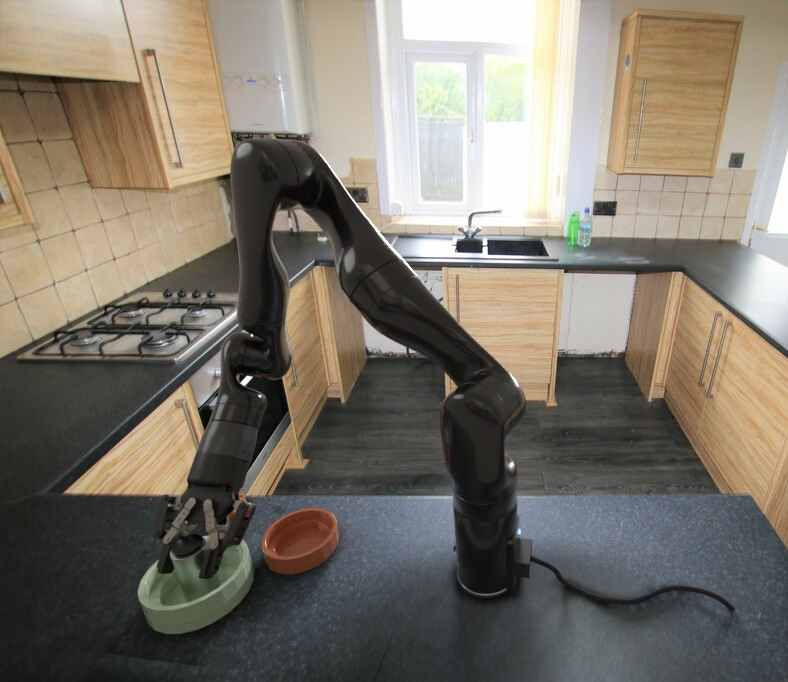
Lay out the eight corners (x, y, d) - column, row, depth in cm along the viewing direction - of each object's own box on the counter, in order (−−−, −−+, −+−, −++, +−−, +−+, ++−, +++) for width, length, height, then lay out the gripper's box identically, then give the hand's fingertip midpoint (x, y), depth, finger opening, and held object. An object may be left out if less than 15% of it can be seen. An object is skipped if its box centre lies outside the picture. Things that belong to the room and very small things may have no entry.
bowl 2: (351, 527, 82) (348, 511, 81) (318, 580, 72) (314, 563, 70) (291, 521, 83) (287, 505, 82) (250, 572, 73) (245, 555, 72)
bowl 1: (273, 562, 75) (267, 537, 73) (212, 643, 63) (203, 616, 61) (197, 553, 77) (189, 529, 75) (122, 631, 64) (111, 604, 62)
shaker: (226, 580, 71) (212, 533, 68) (205, 605, 67) (189, 557, 64) (200, 577, 72) (185, 530, 68) (177, 602, 68) (160, 554, 64)
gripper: (164, 446, 70) (116, 572, 63) (253, 453, 68) (213, 583, 62) (199, 455, 77) (159, 569, 70) (281, 462, 75) (248, 580, 68)
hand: (185, 575), depth 66 cm, fingers open, 5 cm apart
